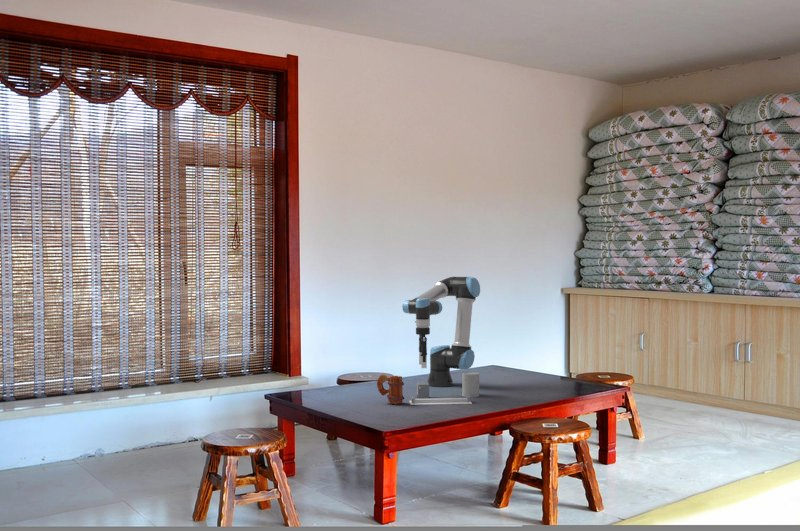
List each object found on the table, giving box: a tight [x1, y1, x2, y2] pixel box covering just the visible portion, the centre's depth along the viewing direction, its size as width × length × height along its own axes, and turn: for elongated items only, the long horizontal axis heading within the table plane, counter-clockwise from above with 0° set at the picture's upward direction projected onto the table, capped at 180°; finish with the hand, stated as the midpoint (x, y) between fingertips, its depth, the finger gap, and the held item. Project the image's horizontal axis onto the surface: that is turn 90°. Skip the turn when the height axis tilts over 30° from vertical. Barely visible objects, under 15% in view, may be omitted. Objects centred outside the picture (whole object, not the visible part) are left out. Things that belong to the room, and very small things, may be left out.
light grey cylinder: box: [461, 371, 480, 398], centre depth 426 cm, size 10×10×12 cm
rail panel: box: [408, 396, 473, 406], centre depth 406 cm, size 9×32×3 cm, turn 94°
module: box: [416, 381, 430, 399], centre depth 418 cm, size 7×6×8 cm
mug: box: [376, 374, 405, 405], centre depth 405 cm, size 15×8×15 cm, turn 73°
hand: (422, 366), depth 418 cm, fingers open, 13 cm apart
